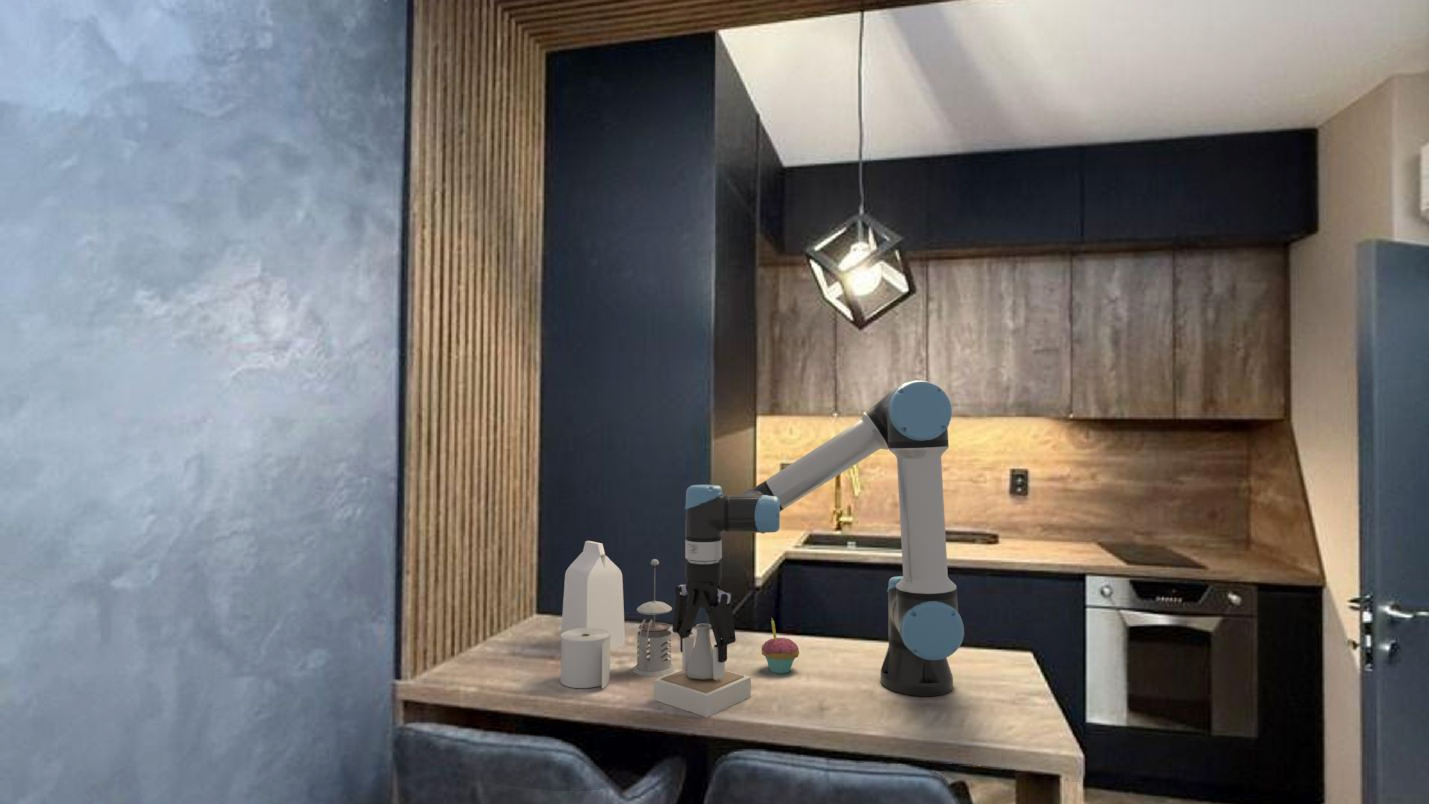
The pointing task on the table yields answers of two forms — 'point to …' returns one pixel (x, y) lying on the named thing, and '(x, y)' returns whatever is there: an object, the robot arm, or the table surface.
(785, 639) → the cupcake
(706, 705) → the pedestal
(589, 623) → the milk
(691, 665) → the flask
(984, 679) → the table surface
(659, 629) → the french press
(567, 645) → the toilet tissue
